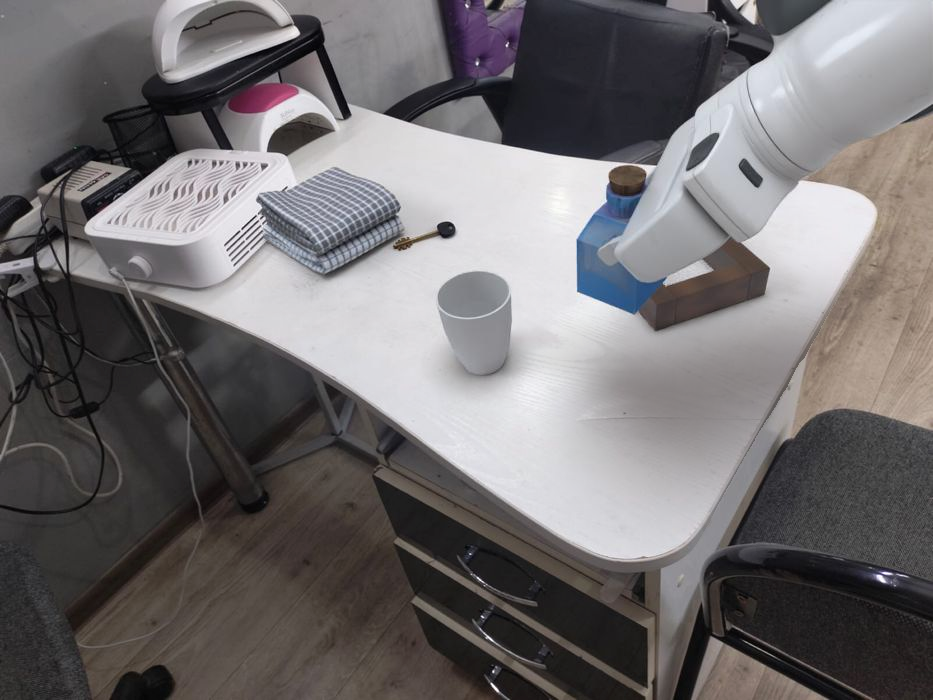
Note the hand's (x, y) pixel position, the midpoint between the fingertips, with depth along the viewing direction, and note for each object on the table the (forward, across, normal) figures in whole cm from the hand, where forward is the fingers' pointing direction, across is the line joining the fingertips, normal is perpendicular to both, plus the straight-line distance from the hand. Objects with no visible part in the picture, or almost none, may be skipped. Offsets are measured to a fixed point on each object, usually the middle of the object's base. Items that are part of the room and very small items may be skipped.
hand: (617, 228), depth 61 cm
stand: (+12, -19, +16) cm, 27 cm away
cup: (+24, +2, +4) cm, 25 cm away
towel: (+48, -15, -19) cm, 54 cm away
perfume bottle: (+4, 0, +5) cm, 7 cm away
